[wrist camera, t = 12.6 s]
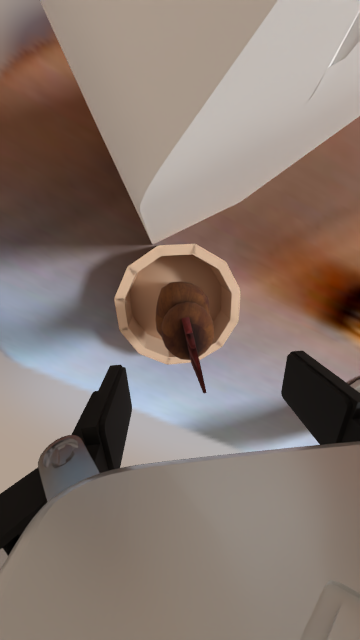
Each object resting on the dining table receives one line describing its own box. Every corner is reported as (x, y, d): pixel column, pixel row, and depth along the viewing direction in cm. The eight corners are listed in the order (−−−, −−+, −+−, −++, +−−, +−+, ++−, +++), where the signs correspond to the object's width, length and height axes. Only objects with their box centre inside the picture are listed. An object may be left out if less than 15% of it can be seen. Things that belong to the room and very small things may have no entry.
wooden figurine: (194, 327, 27) (230, 413, 13) (153, 323, 26) (146, 408, 12) (204, 280, 25) (260, 322, 11) (159, 273, 24) (159, 310, 10)
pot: (224, 341, 29) (235, 358, 25) (131, 349, 28) (125, 368, 24) (229, 242, 24) (244, 241, 20) (115, 247, 23) (105, 247, 19)
